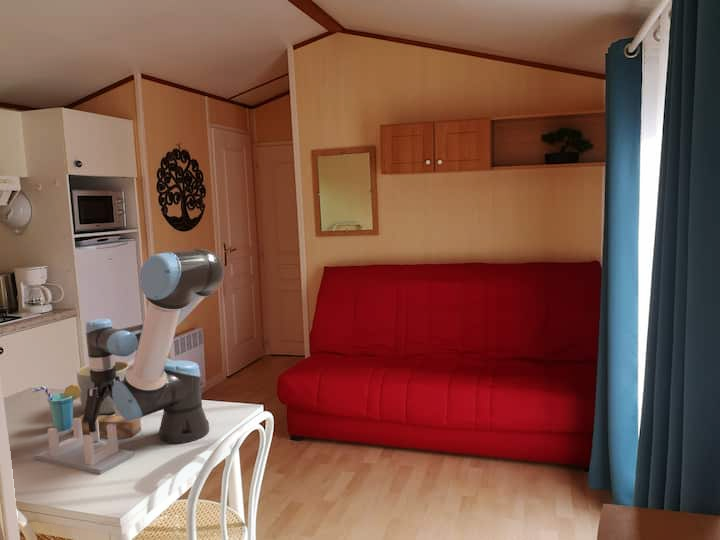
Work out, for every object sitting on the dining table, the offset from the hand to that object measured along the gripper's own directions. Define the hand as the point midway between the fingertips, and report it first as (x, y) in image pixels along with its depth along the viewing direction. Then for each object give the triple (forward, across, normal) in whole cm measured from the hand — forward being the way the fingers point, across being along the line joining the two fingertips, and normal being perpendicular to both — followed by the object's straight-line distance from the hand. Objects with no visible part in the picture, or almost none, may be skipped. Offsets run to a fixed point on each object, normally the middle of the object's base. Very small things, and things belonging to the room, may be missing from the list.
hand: (108, 432), depth 187 cm
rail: (0, 0, 0) cm, 0 cm away
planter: (0, -19, -12) cm, 22 cm away
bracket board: (0, +18, +4) cm, 18 cm away
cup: (0, -2, -18) cm, 18 cm away
